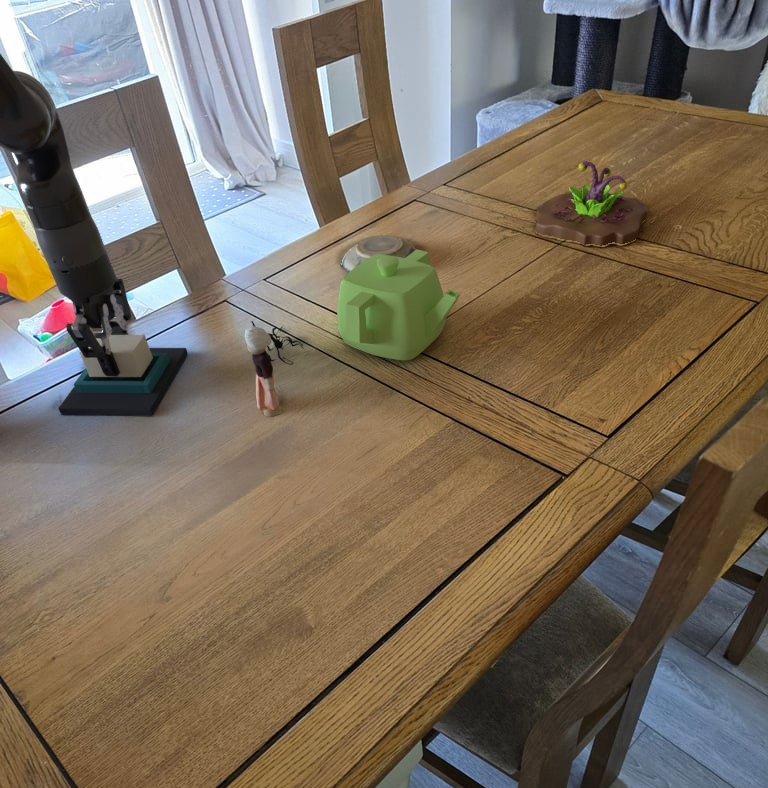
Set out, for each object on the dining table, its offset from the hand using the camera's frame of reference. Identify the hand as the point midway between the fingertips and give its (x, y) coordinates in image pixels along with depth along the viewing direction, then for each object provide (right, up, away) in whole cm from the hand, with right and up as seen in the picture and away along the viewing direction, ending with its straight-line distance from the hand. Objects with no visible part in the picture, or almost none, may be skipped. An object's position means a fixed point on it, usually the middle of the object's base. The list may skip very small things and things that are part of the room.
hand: (120, 363), depth 102 cm
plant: (+78, +33, +29) cm, 89 cm away
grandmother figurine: (+23, -8, -5) cm, 25 cm away
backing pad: (0, -2, +2) cm, 3 cm away
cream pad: (0, 0, 0) cm, 1 cm away
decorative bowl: (+38, +23, +24) cm, 51 cm away
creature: (+23, +2, +5) cm, 24 cm away
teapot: (+42, +4, +5) cm, 43 cm away
